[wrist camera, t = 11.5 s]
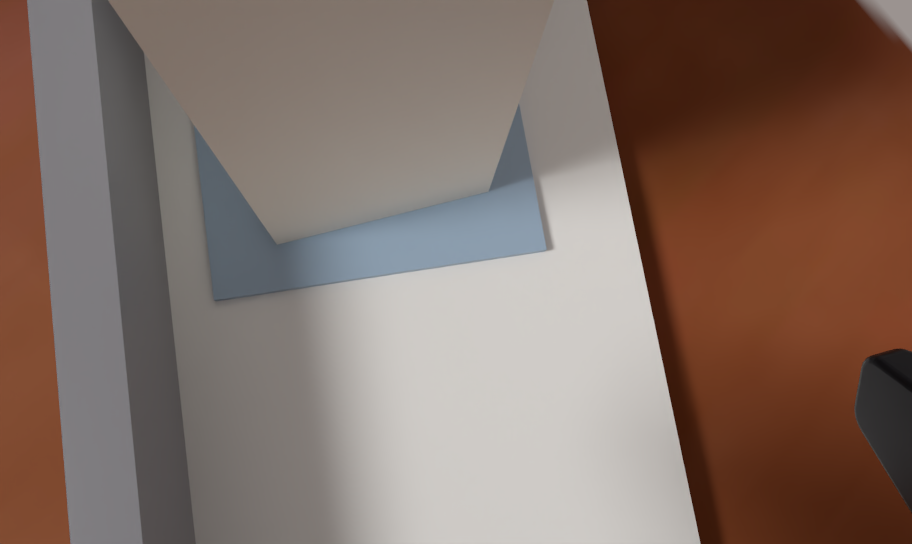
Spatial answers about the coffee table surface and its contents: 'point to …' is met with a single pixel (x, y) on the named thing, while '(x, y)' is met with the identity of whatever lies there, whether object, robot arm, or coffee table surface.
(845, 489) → the coffee table surface
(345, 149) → the block
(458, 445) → the arena
